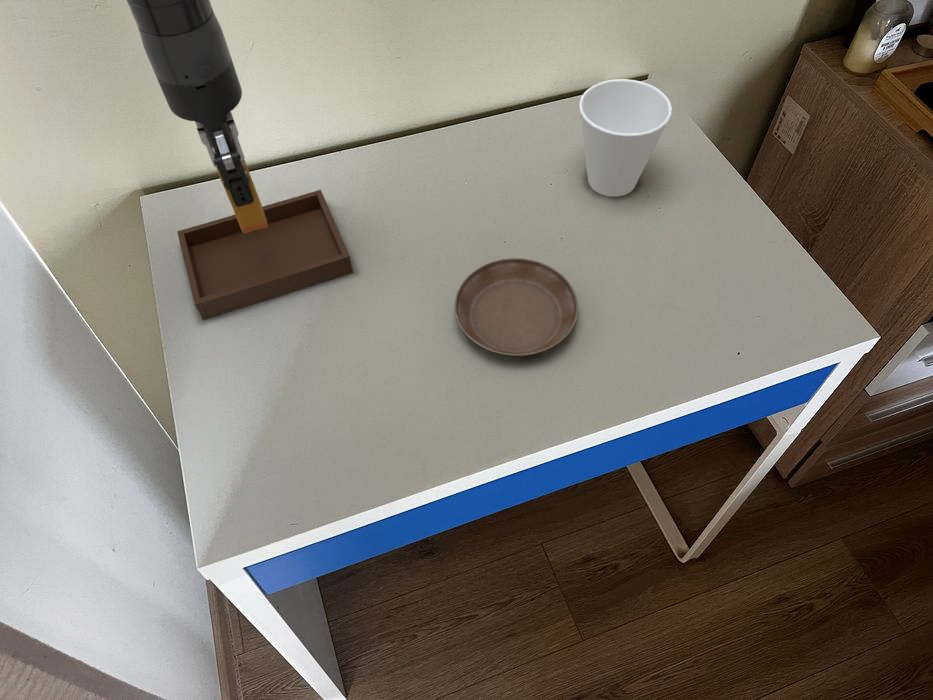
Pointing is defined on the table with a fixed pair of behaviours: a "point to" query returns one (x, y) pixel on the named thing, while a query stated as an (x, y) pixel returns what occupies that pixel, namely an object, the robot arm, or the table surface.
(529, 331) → the saucer
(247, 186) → the robot arm
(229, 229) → the tray
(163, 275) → the table surface
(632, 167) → the cup
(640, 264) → the table surface
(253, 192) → the supplement box
